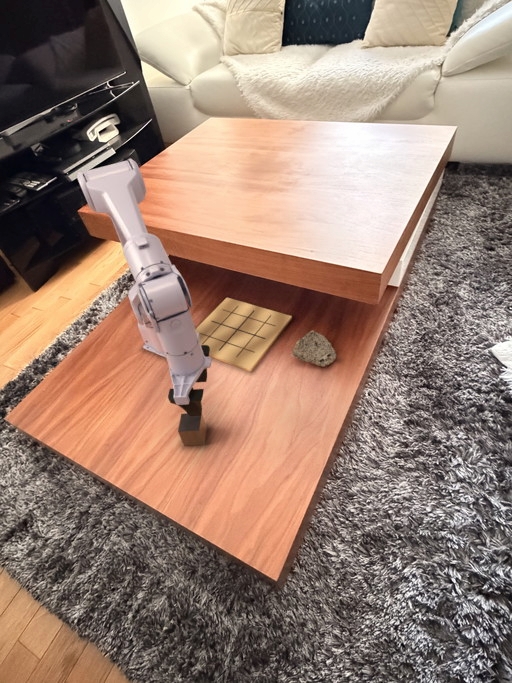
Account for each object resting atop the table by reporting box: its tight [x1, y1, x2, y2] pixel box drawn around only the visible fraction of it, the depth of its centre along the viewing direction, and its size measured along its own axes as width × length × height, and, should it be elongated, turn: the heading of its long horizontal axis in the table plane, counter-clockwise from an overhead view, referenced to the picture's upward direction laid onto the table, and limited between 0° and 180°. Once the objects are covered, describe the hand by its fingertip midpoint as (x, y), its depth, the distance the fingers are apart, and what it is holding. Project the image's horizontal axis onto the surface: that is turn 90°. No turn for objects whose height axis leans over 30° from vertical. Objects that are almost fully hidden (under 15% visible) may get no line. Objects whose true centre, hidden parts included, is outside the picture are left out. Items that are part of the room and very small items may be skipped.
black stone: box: [177, 412, 208, 447], centre depth 74 cm, size 4×4×5 cm
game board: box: [195, 297, 293, 373], centre depth 96 cm, size 20×20×1 cm
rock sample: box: [291, 330, 337, 368], centre depth 86 cm, size 10×8×9 cm
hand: (198, 397), depth 70 cm, fingers open, 7 cm apart
